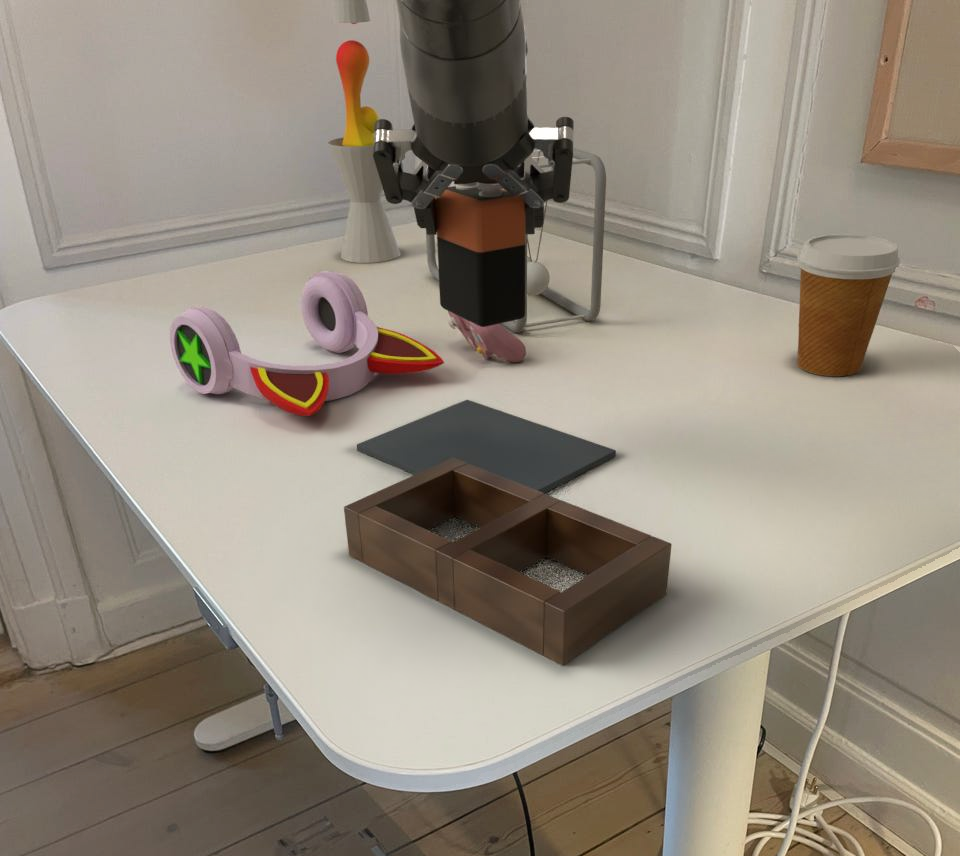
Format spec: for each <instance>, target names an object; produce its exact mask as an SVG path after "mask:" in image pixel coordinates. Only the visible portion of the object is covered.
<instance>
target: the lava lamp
mask: <svg viewBox="0 0 960 856" xmlns="http://www.w3.org/2000/svg"><path fill="white" fill-rule="evenodd" d="M368 22H371V18H370V13H369V8H368V3H367V0H332V15H331V23H333V24H352V25H356V24H359V23H368ZM335 61H336V66H337V69H338V70H337V71H338V73H339V77H340V81H341V85H342V90H343V93H344V94H343V95H344V103H345V104H344V105H345V115H346V116H345V130H344V136H343V137H339V138H335V139H330V140H329V141H327V142H328V143H327V145H328V147H329V150H330V152H331V155H332V158H333V160H334V163H335V165H336V167H337V169H338V172H339V174H340V177H341V179H342V182H343V184H344V186H345V189H346V191H347V195H348V197H349V199H350V202H349V209H348V214H347V219H346V225H345V230H344V236H343V241H342V245H341V252H340V258H341V260H343V261H346V262H350V263H357V264H373V263H383V262H387V261H392V260H394V259H397V258H399V257H400V256H401V252H400V249H399V246H398V242H397V240H396V237H395V235H394V231H393V228H392V226H391V224H390V220H389V218H388V215H387V212H386V209H385V206H384V203H383V200H382V197H383V194H384V191H383V187H382V184H381V181H380V177H379V174H378V171H377V168H376V164H375V161H374V158H373V146H374V129H375V122H376V121H377V120H379V119H380V117H379V114H378V113H377V111H376V110H375V109H374V108H372V107H370V106H362V105H361V104H362V103H361V102H362V101H361V94H362V90H363V89H362V88H363V85H364V80H365V78H366V75H367V72H368V69H369V66H370V55H369V52H368V49H367V48H366V47H365V45H363V43H361V42H359V41H357V40H354V39H353V40H352V39H350V40H346V41H344V42H343V43H341V44H340V46H339V47H338V48H337V51H336V55H335Z"/></svg>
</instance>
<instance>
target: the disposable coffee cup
mask: <svg viewBox="0 0 960 856" xmlns="http://www.w3.org/2000/svg"><path fill="white" fill-rule="evenodd" d="M796 258H797V261H798V267H799V268H800V277H799V278H800V279H799V282H800V283H799V307H798V308H799V309H798V310H799V311H798V336H797V337H798V340H797V343H798V344H797V364H796V365H797V366H798V367H799V368H800V369H801V370H803V371H805V372H808V373H811V374H815V375H818V376H825V377H843V376H850V375H855V374H857V373H859V372H860V371H861V369H862V366H863V363H864V360H865V357H866V354H867V351H868V348H869V345H870V342H871V339H872V336H873V333H874V330H875V327H876V325H877V321H878V318H879V314H880V312H881V309H882V306H883V304H884V300H885V298H886V295H887V291H888V288H889V284H890V282H891V279H892V277H893V274H894V273H895V272H896V269H897V268H898V267H899V265H900V264H901V259H900V258H899V247H898V244H897V243H895V242H893V241H891V240H889V239H885V238H882V237H878V236H873V235H872V236H871V235H864V234H850V233H849V234H848V233H834V234H833V233H831V234H822V235H817V236H813V237H810V238H808V239H806V240H805V241H804V243H803V246H802V249H801V251H800V252H798V254H797V257H796Z"/></svg>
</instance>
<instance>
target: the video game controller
mask: <svg viewBox="0 0 960 856" xmlns="http://www.w3.org/2000/svg"><path fill="white" fill-rule="evenodd" d="M447 314H448V315H449V317H450V319H447V321H448V325H449V327H450V328H451V329H452V330H456V328H457V329H458V331H460V333H461V334H462V335H463V337H464V338H465V340H466V341H467V343H468V344H469V346H470V347H471V348H472V349H473V350H474V351H476V352H477V354H478V355H481V356H482V357H483V358H484V359H486V360H487V359H489V358H491V357H492V356H494V355H495V356H497V357H499V358H501V359H502V360H505V361H508V362H511V363H519V362H522V361H524V359H525V358H526V356H527V348H526V345H525V344H524V342H523V341H521V339H519V338H518V337H517V336H515V335H514V334H512V333H511V332H509V331H508V330H507V329H506V328H505V327H504V326H503V324H501V323H500V324H495V325H491V326H486V327H480V326H478V325H476V324H474V323H472V322H470V321H468V320H466V319H464V318H462V317H460V316H458V315H456V314H454V313H452V312H450V311H448V310H447Z"/></svg>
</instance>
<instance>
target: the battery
mask: <svg viewBox="0 0 960 856" xmlns="http://www.w3.org/2000/svg"><path fill="white" fill-rule="evenodd" d="M435 200H436V222H437V234H436V245H437V246H436V247H437V267H438V270H439V281H438V285H439V286H438V287H439V304H440V306H441V308H443V310H446V311H447V312H448V311H450V312H452V313H454V314H456V315H458V316H460V317H462V318H464V319H466V320H468V321H470V322H472V323H474V324H476V325H478V326H480V327H486V326H491V325H495V324H501V323H504V322H509V321H514V320H515V321H516V320H518V319H522V318H523V317H524V316H525V201H523V200H522V199H521V198H520V197H519V196H516V197H513V196H511V195H510V194H509V193H508V192H507V191H506V190H504V188H503V187H502V186H501V185H500V184H499V183H498V184H484V183H478V182H474V183H469V184H455V185H453V186H448V188H447V189H446V190H445V191H444V193H443V194H442V195H441V196H440V197H439V198H437V197H435Z"/></svg>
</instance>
